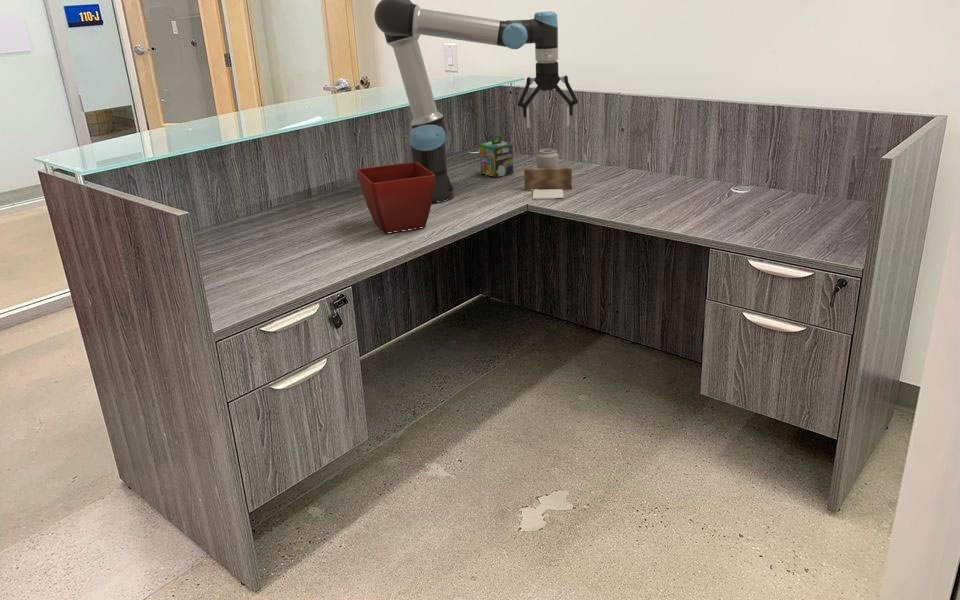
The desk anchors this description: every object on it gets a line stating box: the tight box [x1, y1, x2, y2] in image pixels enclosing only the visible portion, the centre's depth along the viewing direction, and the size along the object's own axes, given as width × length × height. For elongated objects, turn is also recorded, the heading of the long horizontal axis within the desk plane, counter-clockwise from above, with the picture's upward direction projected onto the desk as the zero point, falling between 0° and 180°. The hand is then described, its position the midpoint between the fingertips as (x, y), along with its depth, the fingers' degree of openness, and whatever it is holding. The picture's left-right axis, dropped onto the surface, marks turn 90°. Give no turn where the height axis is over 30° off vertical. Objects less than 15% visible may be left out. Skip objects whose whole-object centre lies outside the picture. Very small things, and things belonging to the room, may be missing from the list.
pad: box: [532, 189, 564, 200], centre depth 255 cm, size 10×10×1 cm
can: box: [536, 148, 560, 169], centre depth 266 cm, size 8×8×12 cm
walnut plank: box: [523, 167, 573, 191], centre depth 261 cm, size 16×2×7 cm, turn 85°
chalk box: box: [479, 133, 514, 178], centre depth 282 cm, size 9×9×15 cm
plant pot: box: [356, 161, 435, 234], centre depth 228 cm, size 19×19×17 cm
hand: (548, 126), depth 261 cm, fingers open, 13 cm apart
